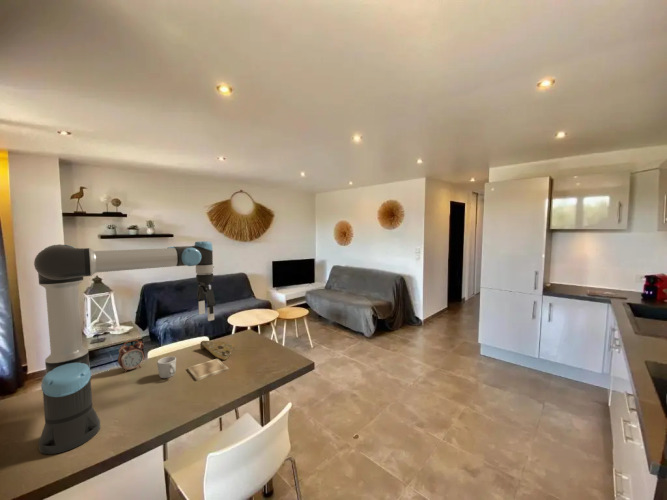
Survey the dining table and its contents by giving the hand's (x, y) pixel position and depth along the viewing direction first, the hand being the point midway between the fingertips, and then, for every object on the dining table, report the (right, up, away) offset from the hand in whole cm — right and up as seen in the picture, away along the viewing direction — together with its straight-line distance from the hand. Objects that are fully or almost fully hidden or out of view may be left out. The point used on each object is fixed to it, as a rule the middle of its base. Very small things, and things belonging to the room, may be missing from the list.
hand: (206, 317), depth 136 cm
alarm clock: (-40, -28, +6) cm, 50 cm away
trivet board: (-2, -28, +5) cm, 28 cm away
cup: (-17, -29, -1) cm, 33 cm away
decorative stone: (-4, -28, +26) cm, 39 cm away
